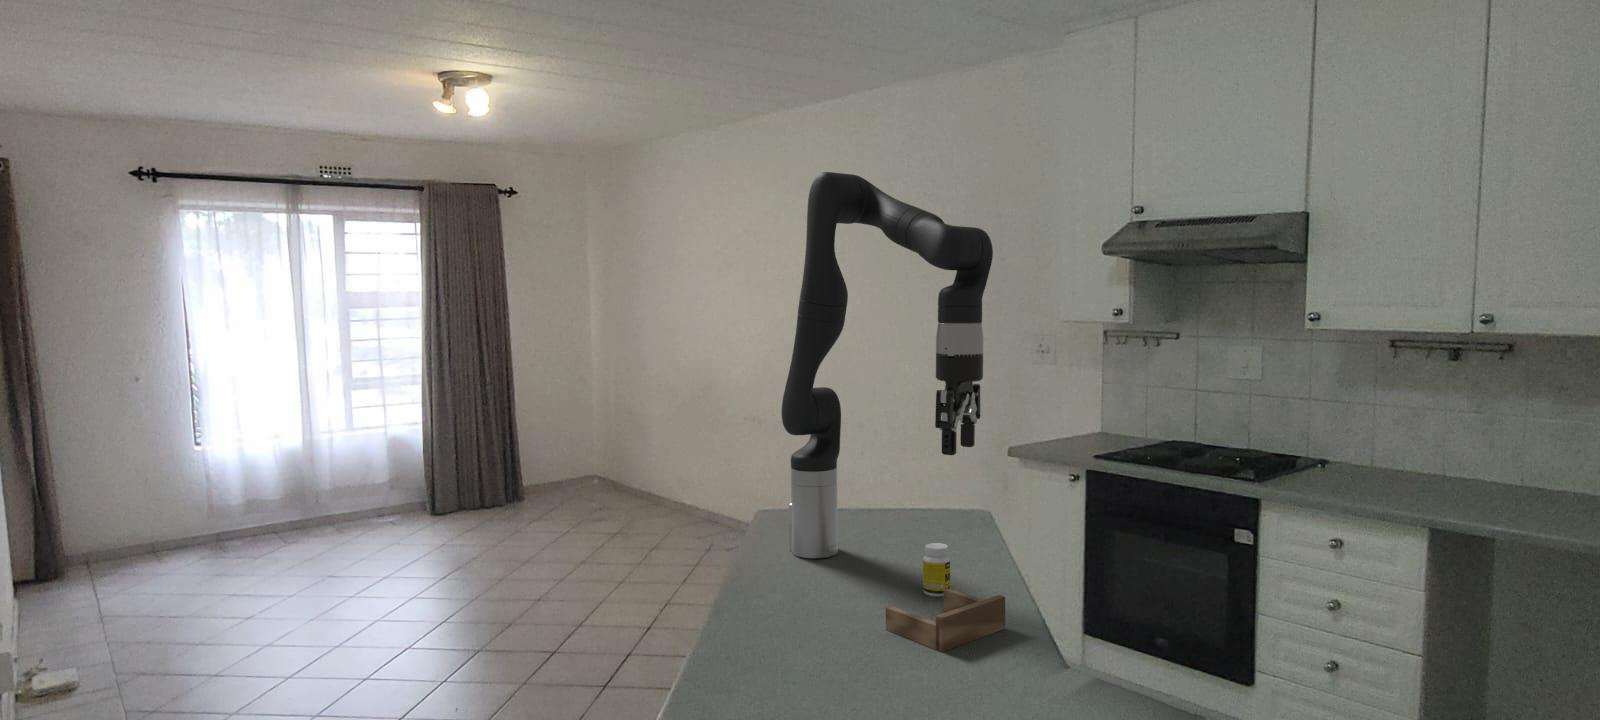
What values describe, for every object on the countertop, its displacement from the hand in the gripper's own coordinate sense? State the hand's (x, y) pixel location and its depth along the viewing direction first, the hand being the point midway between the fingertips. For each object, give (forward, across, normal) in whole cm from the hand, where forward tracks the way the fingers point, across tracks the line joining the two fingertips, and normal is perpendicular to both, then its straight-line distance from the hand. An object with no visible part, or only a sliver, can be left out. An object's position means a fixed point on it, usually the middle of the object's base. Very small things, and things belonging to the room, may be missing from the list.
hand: (958, 450), depth 138 cm
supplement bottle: (+27, -7, -6) cm, 29 cm away
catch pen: (+27, +8, +1) cm, 28 cm away
